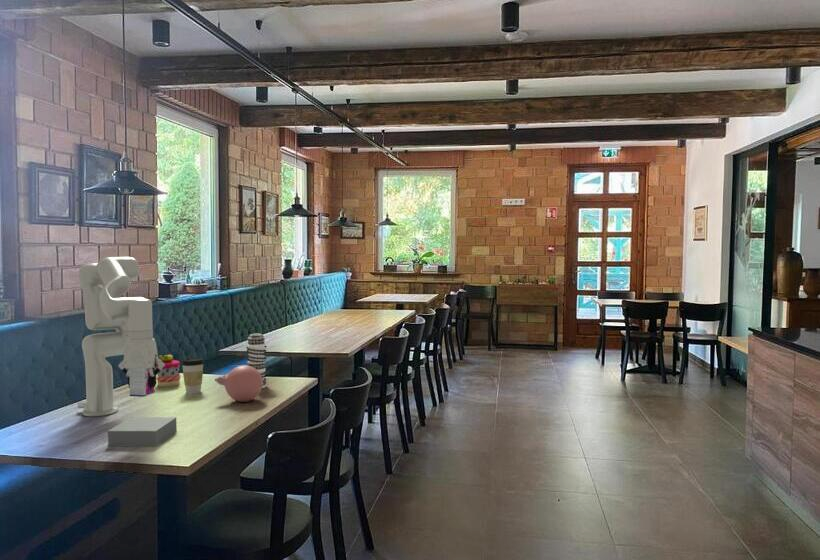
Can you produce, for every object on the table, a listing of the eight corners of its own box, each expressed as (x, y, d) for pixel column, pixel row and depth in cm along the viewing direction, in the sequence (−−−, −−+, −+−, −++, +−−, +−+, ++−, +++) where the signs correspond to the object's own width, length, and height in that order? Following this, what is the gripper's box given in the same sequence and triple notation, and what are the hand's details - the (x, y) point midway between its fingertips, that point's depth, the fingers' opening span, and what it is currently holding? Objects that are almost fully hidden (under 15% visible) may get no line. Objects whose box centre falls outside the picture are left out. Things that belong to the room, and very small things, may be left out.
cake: (160, 382, 289) (160, 352, 288) (183, 382, 290) (182, 351, 289) (153, 387, 278) (153, 356, 278) (177, 386, 279) (176, 355, 279)
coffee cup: (209, 391, 270) (208, 358, 269) (191, 395, 262) (190, 362, 261) (195, 388, 275) (194, 356, 275) (177, 393, 267) (176, 360, 266)
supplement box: (144, 397, 198) (143, 363, 198) (129, 396, 199) (128, 362, 199) (155, 393, 204) (154, 360, 203) (140, 392, 205) (139, 359, 204)
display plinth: (108, 445, 195) (107, 431, 194) (132, 431, 211) (131, 417, 210) (156, 446, 194) (155, 431, 194) (176, 431, 210) (176, 417, 210)
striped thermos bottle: (251, 384, 284) (250, 332, 283) (270, 384, 283) (269, 332, 282) (243, 388, 275) (242, 335, 274) (262, 389, 274) (261, 335, 272)
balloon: (221, 396, 260) (221, 362, 259) (267, 396, 259) (266, 362, 259) (209, 406, 244) (208, 369, 244) (257, 406, 244) (256, 369, 243)
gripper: (109, 336, 197) (111, 390, 198) (160, 336, 197) (162, 390, 198) (121, 333, 205) (123, 384, 206) (170, 333, 204) (172, 384, 205)
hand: (142, 386), depth 202 cm, fingers closed on supplement box, 6 cm apart
